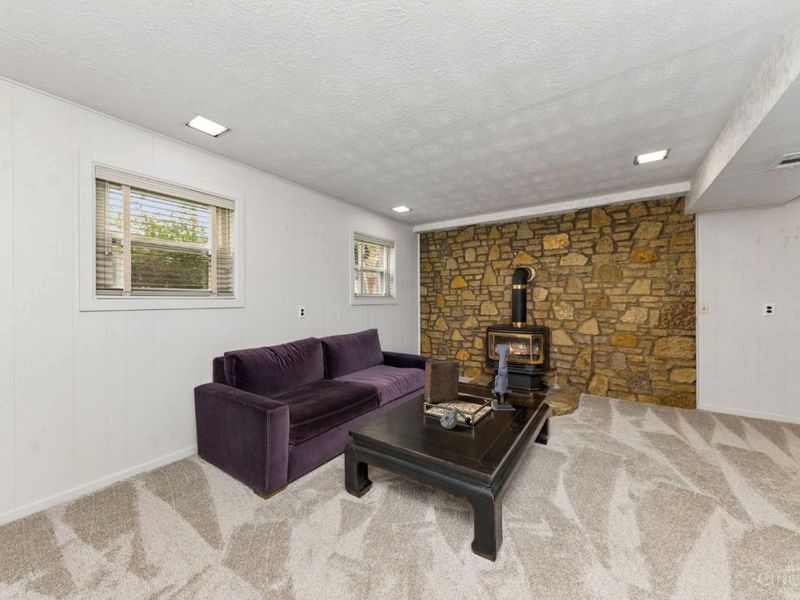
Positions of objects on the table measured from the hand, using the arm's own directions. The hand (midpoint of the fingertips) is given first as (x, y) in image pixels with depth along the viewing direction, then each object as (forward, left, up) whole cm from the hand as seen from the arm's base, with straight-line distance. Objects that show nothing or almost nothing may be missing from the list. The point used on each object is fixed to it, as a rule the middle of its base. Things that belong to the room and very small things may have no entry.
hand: (501, 402), depth 249 cm
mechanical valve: (+32, -43, -4) cm, 54 cm away
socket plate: (-4, 0, -4) cm, 5 cm away
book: (-17, -41, -4) cm, 45 cm away
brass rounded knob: (0, 0, -2) cm, 2 cm away
